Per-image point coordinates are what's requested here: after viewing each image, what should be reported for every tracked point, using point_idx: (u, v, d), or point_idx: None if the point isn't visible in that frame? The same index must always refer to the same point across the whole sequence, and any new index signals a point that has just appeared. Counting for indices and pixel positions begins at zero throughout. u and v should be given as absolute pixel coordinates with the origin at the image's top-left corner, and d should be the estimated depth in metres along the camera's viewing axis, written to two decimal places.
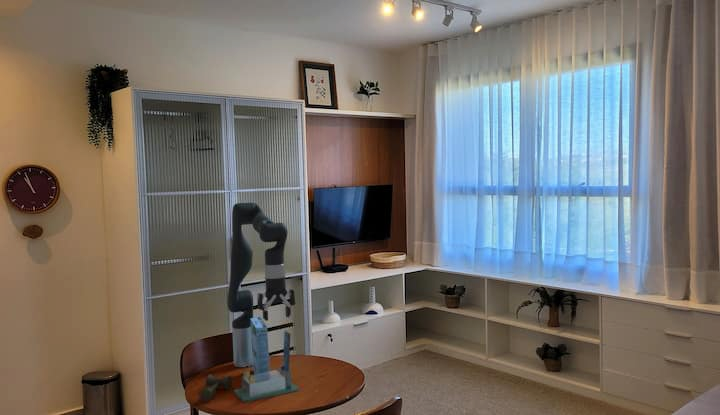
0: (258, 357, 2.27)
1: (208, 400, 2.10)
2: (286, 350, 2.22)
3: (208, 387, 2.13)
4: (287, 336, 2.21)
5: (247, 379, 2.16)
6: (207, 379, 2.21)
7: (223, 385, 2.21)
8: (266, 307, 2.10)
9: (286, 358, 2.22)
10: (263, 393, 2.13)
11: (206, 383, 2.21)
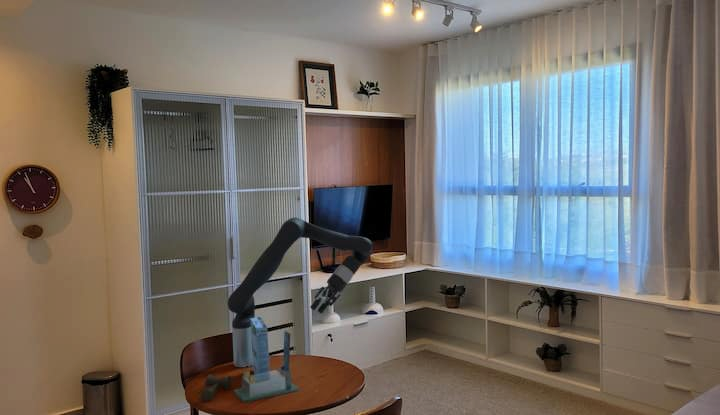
0: (258, 357, 2.27)
1: (208, 401, 2.10)
2: (286, 350, 2.22)
3: (208, 387, 2.13)
4: (287, 336, 2.21)
5: (247, 379, 2.16)
6: (207, 379, 2.21)
7: (223, 385, 2.21)
8: None
9: (286, 358, 2.22)
10: (263, 393, 2.13)
11: (206, 383, 2.21)
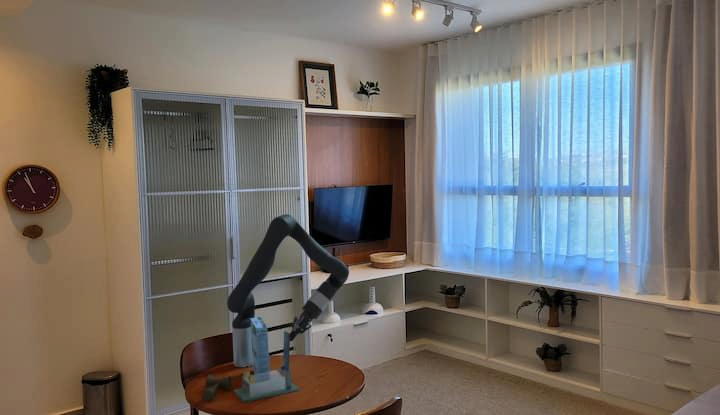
0: (258, 357, 2.27)
1: (209, 401, 2.09)
2: (286, 350, 2.22)
3: (209, 387, 2.13)
4: (287, 336, 2.21)
5: (247, 379, 2.16)
6: (207, 380, 2.21)
7: (223, 385, 2.21)
8: None
9: (286, 358, 2.22)
10: (263, 393, 2.13)
11: (206, 384, 2.20)
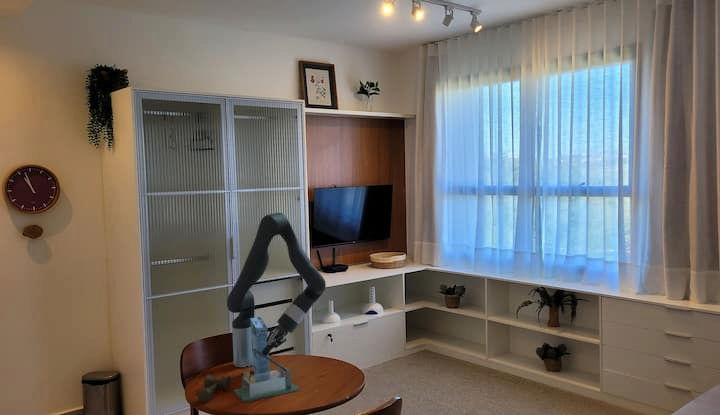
0: (258, 357, 2.27)
1: (206, 401, 2.09)
2: None
3: (206, 388, 2.13)
4: (259, 354, 2.16)
5: (247, 379, 2.16)
6: (206, 380, 2.21)
7: (222, 386, 2.20)
8: None
9: None
10: (263, 393, 2.13)
11: (205, 384, 2.20)
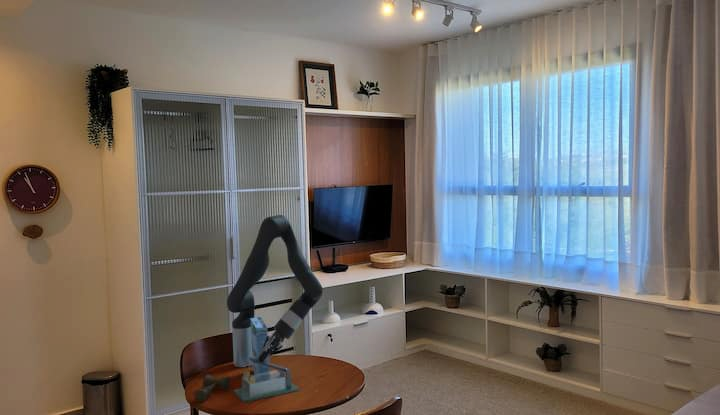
0: None
1: (202, 401, 2.09)
2: (267, 365, 2.18)
3: (203, 388, 2.13)
4: None
5: (247, 379, 2.16)
6: (204, 379, 2.21)
7: (220, 386, 2.20)
8: None
9: None
10: (263, 393, 2.13)
11: (203, 383, 2.21)
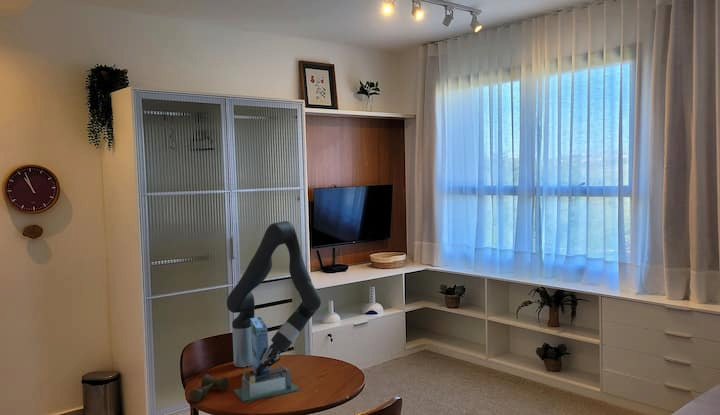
0: (258, 357, 2.27)
1: (196, 401, 2.10)
2: None
3: (199, 387, 2.14)
4: None
5: (247, 379, 2.16)
6: (203, 379, 2.22)
7: (217, 386, 2.20)
8: None
9: None
10: (263, 393, 2.13)
11: (202, 383, 2.21)
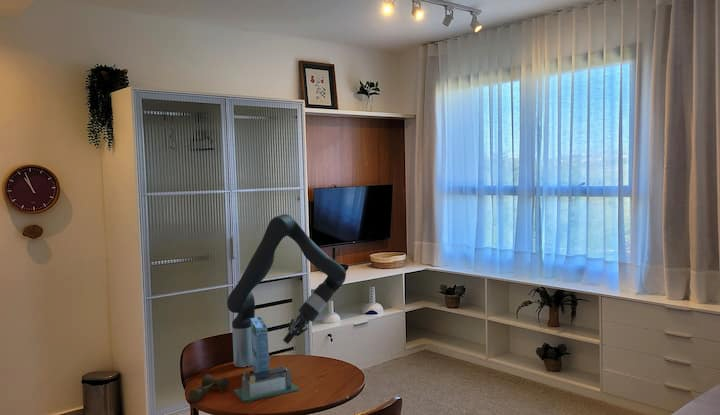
0: (258, 357, 2.27)
1: (195, 401, 2.10)
2: None
3: (199, 387, 2.13)
4: None
5: (247, 379, 2.16)
6: (203, 379, 2.22)
7: (217, 386, 2.20)
8: None
9: None
10: (263, 393, 2.13)
11: (202, 383, 2.21)
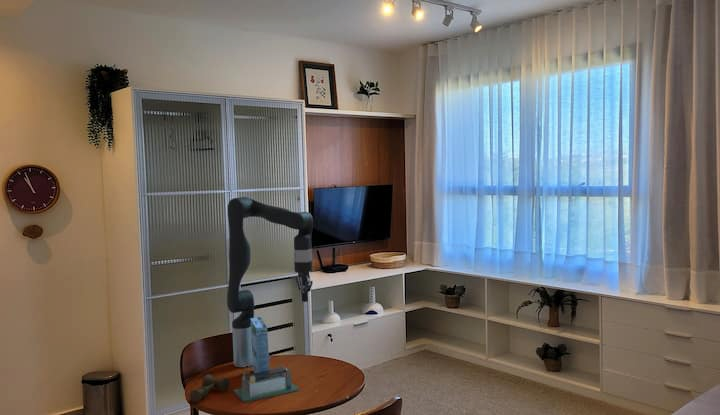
0: (258, 357, 2.27)
1: (197, 401, 2.10)
2: None
3: (200, 388, 2.13)
4: None
5: (247, 379, 2.16)
6: (204, 379, 2.21)
7: (218, 386, 2.20)
8: None
9: None
10: (263, 393, 2.13)
11: (203, 383, 2.21)
